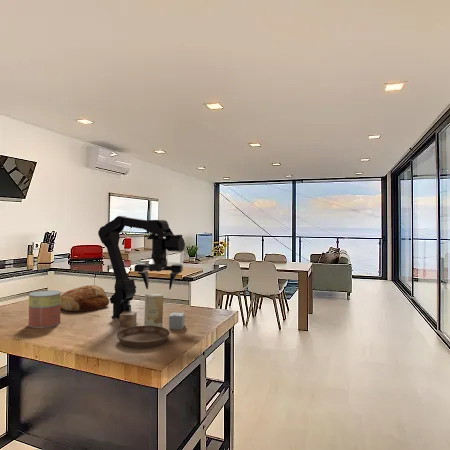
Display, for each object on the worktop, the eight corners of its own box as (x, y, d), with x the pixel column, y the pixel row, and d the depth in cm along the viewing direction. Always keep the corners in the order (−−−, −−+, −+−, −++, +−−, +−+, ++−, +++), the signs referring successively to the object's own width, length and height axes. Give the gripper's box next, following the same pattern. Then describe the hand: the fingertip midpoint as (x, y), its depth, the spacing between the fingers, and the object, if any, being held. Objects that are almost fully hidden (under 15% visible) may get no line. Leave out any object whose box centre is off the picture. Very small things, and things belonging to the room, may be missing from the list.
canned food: (54, 318, 150) (54, 289, 149) (65, 324, 142) (65, 293, 141) (24, 323, 142) (24, 292, 142) (33, 329, 134) (34, 297, 134)
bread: (110, 307, 171) (110, 285, 171) (76, 315, 156) (76, 292, 155) (83, 301, 182) (83, 281, 182) (48, 308, 167) (48, 286, 166)
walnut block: (119, 327, 138) (119, 314, 138) (123, 324, 143) (123, 311, 143) (132, 328, 137) (132, 315, 137) (136, 324, 142) (136, 311, 142)
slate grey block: (169, 329, 137) (169, 315, 137) (171, 325, 142) (171, 312, 142) (182, 329, 136) (182, 316, 136) (184, 325, 141) (184, 312, 141)
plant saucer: (173, 333, 132) (173, 325, 132) (164, 351, 114) (164, 341, 114) (125, 333, 132) (125, 324, 132) (108, 350, 114) (108, 340, 114)
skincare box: (146, 329, 136) (147, 296, 136) (143, 326, 140) (144, 294, 140) (163, 327, 139) (163, 295, 139) (160, 324, 143) (160, 293, 143)
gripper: (130, 252, 139) (129, 292, 139) (178, 253, 138) (178, 293, 138) (138, 249, 150) (137, 287, 150) (183, 250, 149) (182, 288, 150)
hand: (158, 289), depth 147 cm, fingers open, 9 cm apart
